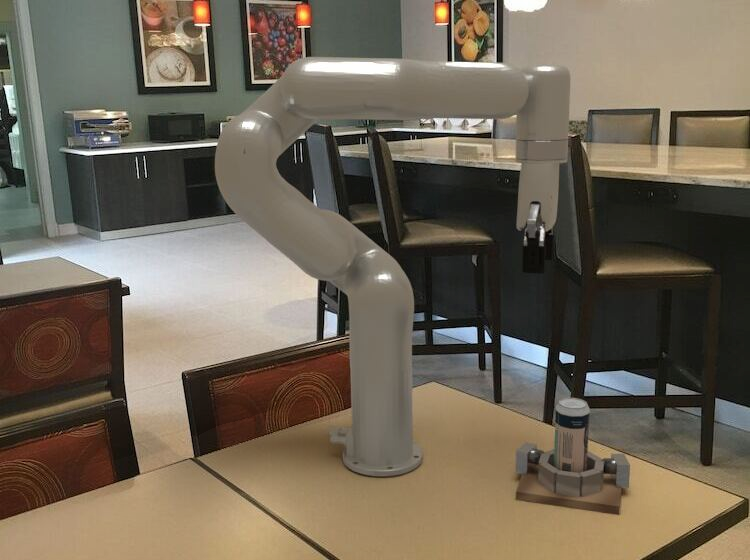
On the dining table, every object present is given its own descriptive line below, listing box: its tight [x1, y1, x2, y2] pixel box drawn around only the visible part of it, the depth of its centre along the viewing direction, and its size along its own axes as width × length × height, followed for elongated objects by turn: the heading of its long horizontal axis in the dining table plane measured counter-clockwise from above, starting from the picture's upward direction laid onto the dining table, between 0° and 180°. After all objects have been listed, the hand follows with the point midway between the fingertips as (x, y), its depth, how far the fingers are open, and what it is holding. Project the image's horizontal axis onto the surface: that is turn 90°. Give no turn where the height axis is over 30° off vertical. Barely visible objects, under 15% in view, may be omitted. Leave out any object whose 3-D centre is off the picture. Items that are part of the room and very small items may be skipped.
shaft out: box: [602, 453, 631, 489], centre depth 114 cm, size 3×4×4 cm
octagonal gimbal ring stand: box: [515, 449, 622, 515], centre depth 114 cm, size 14×11×4 cm
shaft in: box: [515, 441, 545, 475], centre depth 117 cm, size 3×4×4 cm
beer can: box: [553, 397, 591, 473], centre depth 113 cm, size 5×5×12 cm
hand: (538, 265), depth 120 cm, fingers open, 9 cm apart
